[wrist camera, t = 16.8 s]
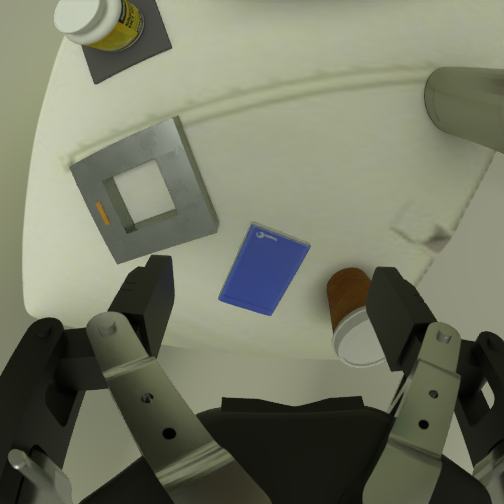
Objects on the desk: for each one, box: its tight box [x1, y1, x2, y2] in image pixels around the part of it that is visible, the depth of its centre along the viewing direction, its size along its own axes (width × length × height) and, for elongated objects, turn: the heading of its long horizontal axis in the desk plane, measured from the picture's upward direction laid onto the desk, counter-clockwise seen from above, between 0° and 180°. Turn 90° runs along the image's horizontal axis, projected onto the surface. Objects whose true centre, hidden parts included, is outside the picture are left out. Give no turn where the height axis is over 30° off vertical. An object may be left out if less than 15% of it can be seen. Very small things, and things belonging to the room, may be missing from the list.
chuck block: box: [70, 116, 219, 264], centre depth 35 cm, size 14×14×3 cm
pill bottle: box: [54, 0, 144, 52], centre depth 21 cm, size 6×6×11 cm
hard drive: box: [218, 222, 311, 316], centre depth 42 cm, size 2×8×12 cm
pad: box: [81, 0, 172, 84], centre depth 27 cm, size 10×10×1 cm
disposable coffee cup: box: [327, 268, 386, 368], centre depth 39 cm, size 10×10×12 cm
